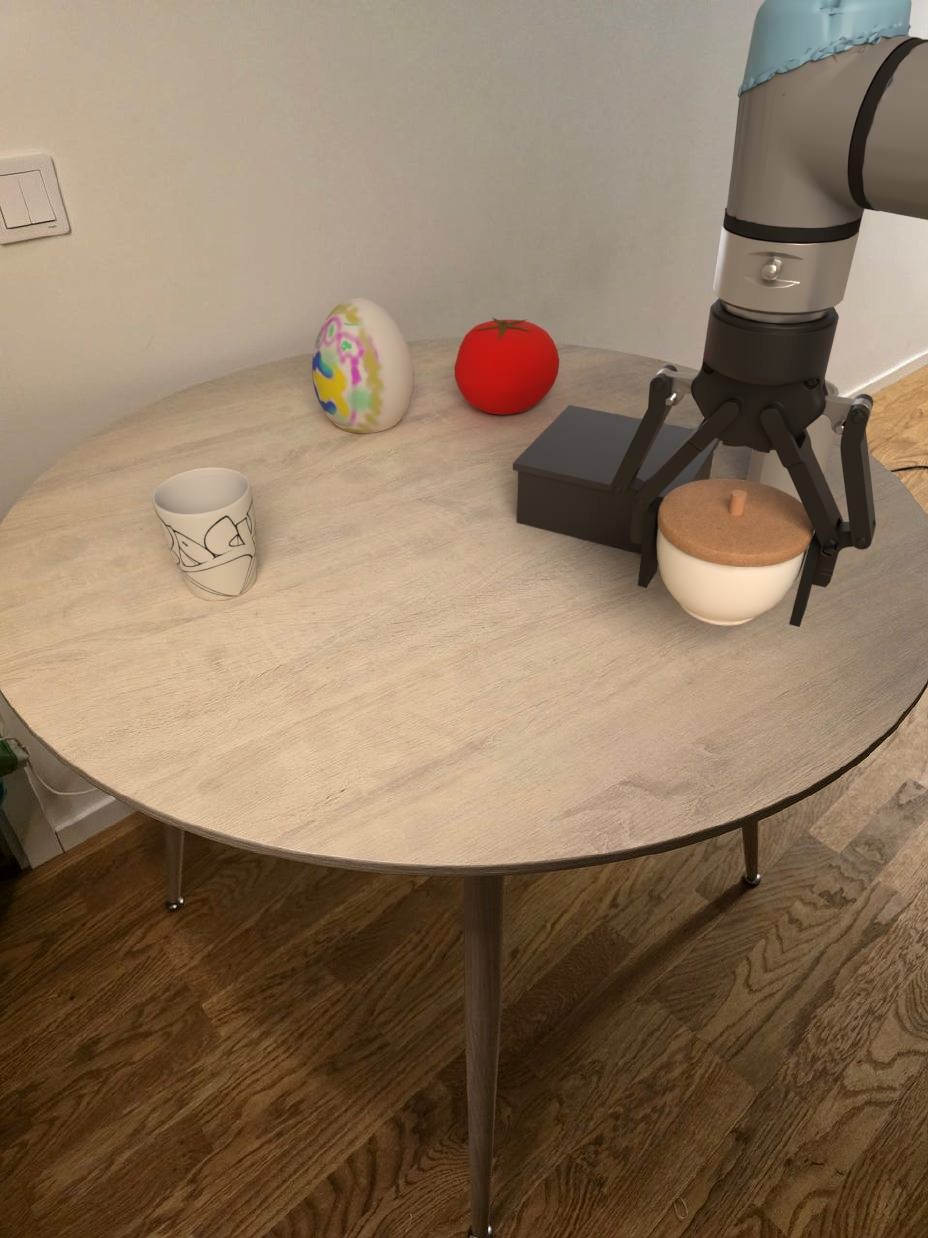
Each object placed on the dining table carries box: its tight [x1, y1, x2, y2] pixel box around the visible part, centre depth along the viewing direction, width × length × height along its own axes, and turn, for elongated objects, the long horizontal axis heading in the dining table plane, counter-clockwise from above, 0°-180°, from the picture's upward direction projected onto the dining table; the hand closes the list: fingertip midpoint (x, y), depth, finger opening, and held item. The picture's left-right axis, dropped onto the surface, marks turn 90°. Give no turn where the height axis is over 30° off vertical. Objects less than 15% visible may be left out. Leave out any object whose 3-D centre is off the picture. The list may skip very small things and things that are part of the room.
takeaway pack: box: [512, 404, 721, 555], centre depth 89 cm, size 17×15×7 cm
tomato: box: [454, 317, 560, 415], centre depth 108 cm, size 12×13×11 cm
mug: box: [151, 466, 258, 602], centre depth 80 cm, size 11×8×10 cm
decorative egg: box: [311, 296, 415, 435], centre depth 104 cm, size 12×12×15 cm
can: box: [746, 379, 840, 503], centre depth 89 cm, size 8×8×12 cm
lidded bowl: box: [657, 478, 815, 627], centre depth 63 cm, size 11×11×9 cm
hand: (720, 596), depth 66 cm, fingers closed on lidded bowl, 11 cm apart
